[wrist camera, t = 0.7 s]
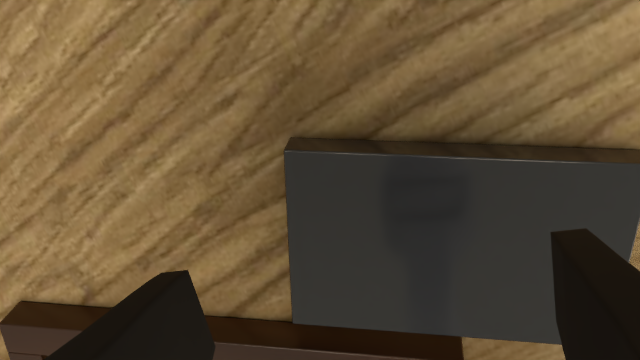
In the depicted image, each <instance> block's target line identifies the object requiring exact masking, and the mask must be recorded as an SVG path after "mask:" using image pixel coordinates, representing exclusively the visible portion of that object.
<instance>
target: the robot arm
mask: <svg viewBox="0 0 640 360" xmlns="http://www.w3.org/2000/svg"><path fill="white" fill-rule="evenodd" d="M550 233H551V249H552V265H553V281H554V297H555V313H556V323H557V327H558V331H559V335H560V339H561V343H562V347H563V351H564V354H565V358H566V360H640V271H639V270H637V269H636V268H635V267H633V266H632V265H631V264H630V263H628V262H627V261H626V260H625V259H624V258H622V257H621V256H620V255H619V254H617V253H616V252H615V251H614V250H612V249H611V248H610V247H609V246H608V245H606V244H605V243H604V242H603V241H602V240H600V239H599V238H598V237H597V236H595V235H594V234H593V233H592V232H590V231H589V230H588V229H586V228H583V229H573V230H564V231H554V232H550ZM215 347H216V346H215V343H214V341H213V338H212V335H211V332H210V330H209V327H208V324H207V321H206V319H205V316H204V313H203V310H202V308H201V305H200V302H199V299H198V297H197V294H196V291H195V288H194V286H193V283H192V280H191V277H190V275H189V272H188V270H184V271H174V272H165V273H160V274H159V275H157V276H156V277H154V278H152V279H151V280H149V281H148V282H146V283H145V284H144V285H142V286H141V287H140V288H138V289H137V290H136V291H134V292H133V293H132V294H130V295H129V296H128V297H126V298H125V299H124V300H122V301H121V302H120V303H118V304H117V305H116V306H115V307H113V308H112V309H111V310H109V311H108V312H107V313H106V314H104V315H103V316H102V317H100V318H99V319H98V320H96V321H95V322H94V323H93V324H91V325H90V326H89V327H87V328H86V329H85V330H83V331H82V332H81V333H79V334H78V335H77V336H75V337H74V338H73V339H71V340H70V341H68V342H67V343H66V344H64V345H63V346H61V347H60V348H59V349H57V350H56V351H55V352H53V353H52V354H50V355H49V356H48V357H46V358H45V359H43V360H213V356H214V351H215Z"/></svg>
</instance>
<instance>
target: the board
mask: <svg viewBox="0 0 640 360" xmlns="http://www.w3.org/2000/svg"><path fill="white" fill-rule="evenodd" d="M284 166H285V186H286V206H287V226H288V245H289V265H290V285H291V305H292V323H293V324H303V325H316V326H329V327H342V328H354V329H367V330H380V331H393V332H406V333H418V334H431V335H444V336H457V337H470V338H482V339H495V340H508V341H521V342H534V343H546V344H559V345H562V343H561V339H560V335H559V331H558V327H557V323H556V313H555V297H554V281H553V265H552V249H551V233H550V232H554V231H564V230H573V229H583V228H586V229H588V230H589V231H590V232H592V233H593V234H594V235H595V236H597V237H598V238H599V239H600V240H602V241H603V242H604V243H605V244H606V245H608V246H609V247H610V248H611V249H612V250H614V251H615V252H616V253H617V254H619V255H620V256H621V257H622V258H624V259H625V260H626V261H627V262H628V263H629V262H630V258H631V254H632V250H633V246H634V242H635V238H636V234H637V230H638V226H639V222H640V150H624V149H597V148H569V147H541V146H514V145H486V144H458V143H431V142H403V141H375V140H348V139H320V138H292V137H291V138H290V139H289V141H288V143H287V145H286V147H285V149H284Z"/></svg>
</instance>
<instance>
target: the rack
mask: <svg viewBox="0 0 640 360" xmlns="http://www.w3.org/2000/svg"><path fill="white" fill-rule="evenodd" d="M109 310H111V309H109V308H96V307H84V306H71V305H58V304H45V303H32V302H19V303H18V304H17V305H16V306H15V307H14V308H13V309H12V310H11V311H10V313H9V314H8V315H7V316H6V317H5V318H4V319H3V320H2V321H1V322H0V330H1V333H2V336H3V339H4V342H5V345H6V348H7V351H8V354H9V357H10V360H43V359H45V358H46V357H48V356H49V355H50V354H52V353H53V352H55V351H56V350H57V349H59V348H60V347H61V346H63V345H64V344H66V343H67V342H68V341H70V340H71V339H73V338H74V337H75V336H77V335H78V334H79V333H81V332H82V331H83V330H85V329H86V328H87V327H89V326H90V325H91V324H93V323H94V322H95V321H96V320H98V319H99V318H100V317H102V316H103V315H104V314H106V313H107V312H108V311H109ZM205 319H206V321H207V324H208V327H209V330H210V332H211V335H212V338H213V341H214V343H215V346H216V347H215V351H214V356H213V360H464V355H463V345H462V337H457V336H444V335H431V334H418V333H406V332H393V331H380V330H367V329H354V328H342V327H329V326H316V325H303V324H293V323H289V322H276V321H263V320H251V319H238V318H225V317H212V316H205Z"/></svg>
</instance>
